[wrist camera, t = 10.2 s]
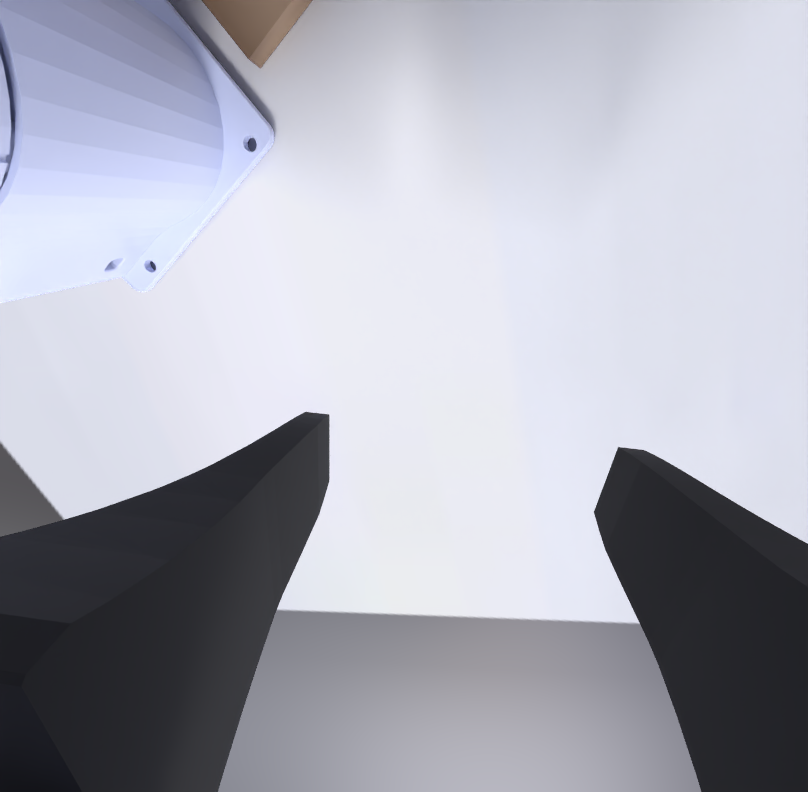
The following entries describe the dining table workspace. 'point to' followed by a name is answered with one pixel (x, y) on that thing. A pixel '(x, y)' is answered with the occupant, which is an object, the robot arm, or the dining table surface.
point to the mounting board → (257, 23)
